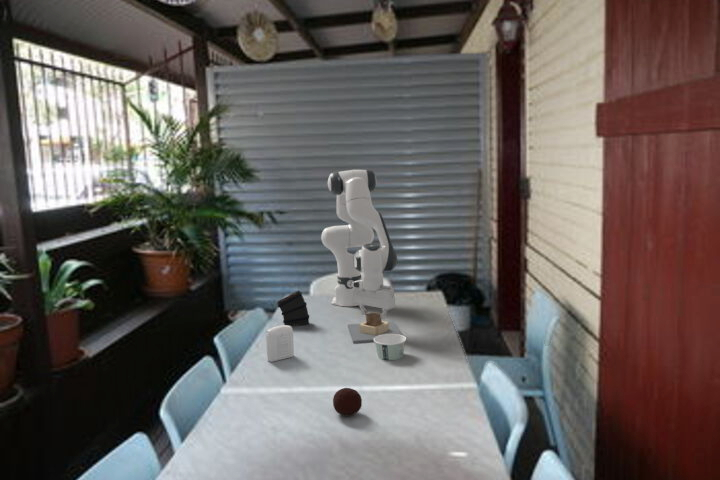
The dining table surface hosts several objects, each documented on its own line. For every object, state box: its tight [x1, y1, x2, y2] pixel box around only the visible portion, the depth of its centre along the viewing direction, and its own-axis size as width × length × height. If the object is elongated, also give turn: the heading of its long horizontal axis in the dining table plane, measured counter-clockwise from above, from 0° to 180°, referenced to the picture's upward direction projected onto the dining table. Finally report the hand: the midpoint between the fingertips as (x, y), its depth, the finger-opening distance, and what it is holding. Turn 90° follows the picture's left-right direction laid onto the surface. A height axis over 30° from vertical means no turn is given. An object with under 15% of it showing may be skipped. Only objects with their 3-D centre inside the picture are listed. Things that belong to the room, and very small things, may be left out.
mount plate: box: [347, 320, 402, 344], centre depth 242 cm, size 22×20×4 cm
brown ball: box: [332, 387, 363, 417], centre depth 168 cm, size 8×9×8 cm
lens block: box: [365, 311, 383, 327], centre depth 242 cm, size 4×4×7 cm
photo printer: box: [265, 324, 295, 362], centre depth 216 cm, size 10×4×12 cm, turn 123°
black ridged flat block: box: [276, 290, 310, 327], centre depth 258 cm, size 4×13×15 cm, turn 93°
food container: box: [373, 334, 407, 361], centre depth 214 cm, size 12×12×6 cm
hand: (373, 316), depth 241 cm, fingers open, 8 cm apart
